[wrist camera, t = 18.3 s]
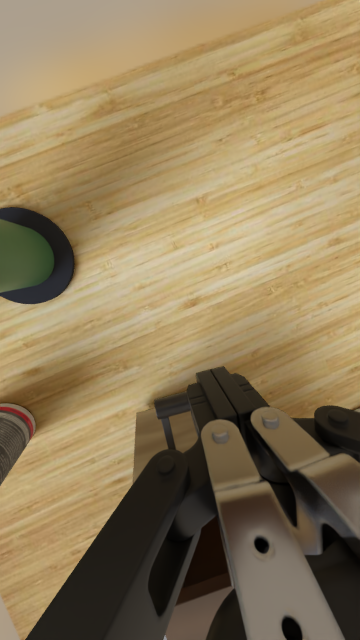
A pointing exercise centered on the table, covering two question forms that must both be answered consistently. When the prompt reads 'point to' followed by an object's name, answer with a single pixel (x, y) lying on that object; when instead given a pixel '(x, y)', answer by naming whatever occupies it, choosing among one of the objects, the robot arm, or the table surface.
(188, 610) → the cabinet
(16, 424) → the pill bottle
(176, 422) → the drawer
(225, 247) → the table surface
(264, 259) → the table surface
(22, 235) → the tin
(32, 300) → the coaster
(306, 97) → the table surface
